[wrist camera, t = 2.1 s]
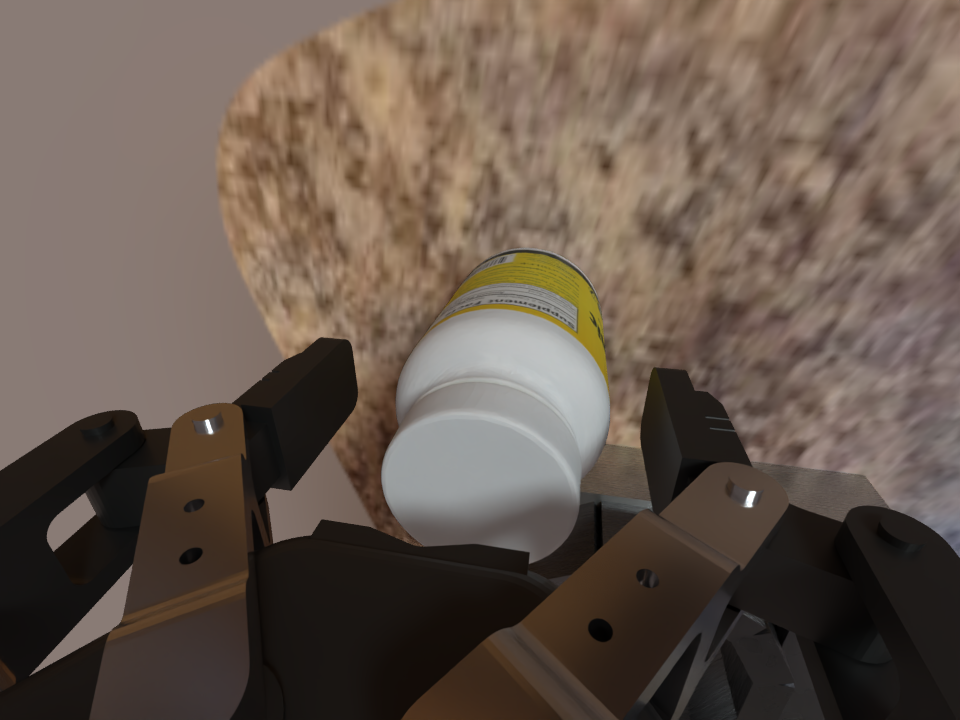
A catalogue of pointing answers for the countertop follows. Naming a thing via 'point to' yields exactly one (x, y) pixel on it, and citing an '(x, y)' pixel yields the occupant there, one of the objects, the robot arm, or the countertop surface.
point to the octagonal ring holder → (753, 641)
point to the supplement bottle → (502, 409)
